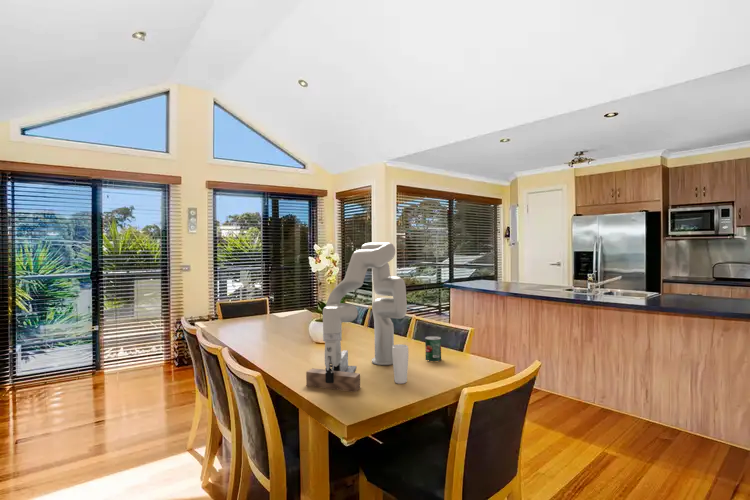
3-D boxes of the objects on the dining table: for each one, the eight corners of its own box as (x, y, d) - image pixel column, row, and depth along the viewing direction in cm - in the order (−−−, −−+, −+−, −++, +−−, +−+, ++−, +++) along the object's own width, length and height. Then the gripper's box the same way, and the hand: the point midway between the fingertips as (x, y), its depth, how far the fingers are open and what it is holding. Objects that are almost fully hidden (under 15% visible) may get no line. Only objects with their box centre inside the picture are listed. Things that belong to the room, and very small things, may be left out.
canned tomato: (422, 359, 193) (421, 337, 193) (432, 356, 198) (432, 335, 198) (434, 362, 187) (434, 340, 187) (444, 359, 192) (444, 337, 192)
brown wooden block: (360, 388, 155) (360, 373, 155) (355, 392, 150) (355, 377, 150) (312, 382, 163) (312, 368, 163) (306, 386, 158) (306, 371, 158)
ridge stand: (356, 368, 181) (356, 350, 181) (348, 381, 163) (348, 361, 163) (335, 367, 182) (335, 349, 182) (325, 380, 164) (325, 360, 164)
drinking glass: (404, 385, 156) (403, 349, 156) (389, 383, 160) (389, 347, 160) (411, 380, 162) (411, 345, 162) (397, 378, 165) (397, 343, 165)
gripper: (336, 341, 147) (336, 386, 147) (345, 332, 165) (346, 372, 164) (317, 341, 148) (317, 385, 148) (328, 332, 166) (329, 371, 165)
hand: (332, 378), depth 156 cm, fingers open, 9 cm apart
